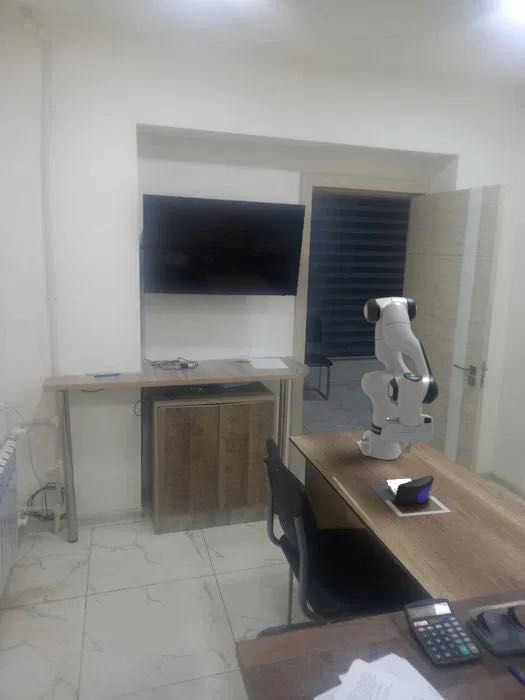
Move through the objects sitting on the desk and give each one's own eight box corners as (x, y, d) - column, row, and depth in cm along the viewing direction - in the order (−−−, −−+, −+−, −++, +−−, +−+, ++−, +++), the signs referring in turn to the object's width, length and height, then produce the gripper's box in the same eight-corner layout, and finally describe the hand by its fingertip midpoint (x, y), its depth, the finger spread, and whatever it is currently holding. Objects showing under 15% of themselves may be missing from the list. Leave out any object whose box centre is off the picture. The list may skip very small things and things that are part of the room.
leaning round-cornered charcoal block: (400, 512, 178) (406, 491, 174) (392, 504, 182) (397, 483, 178) (434, 501, 185) (440, 481, 182) (426, 493, 189) (431, 473, 185)
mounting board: (370, 489, 194) (371, 486, 194) (417, 486, 199) (418, 483, 199) (399, 519, 173) (399, 516, 173) (451, 514, 177) (451, 511, 177)
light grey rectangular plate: (385, 482, 193) (386, 480, 192) (409, 480, 195) (410, 478, 195) (395, 498, 186) (396, 496, 185) (419, 496, 188) (420, 494, 187)
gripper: (386, 421, 180) (383, 457, 183) (438, 418, 185) (434, 454, 187) (378, 415, 186) (376, 450, 189) (428, 413, 191) (425, 448, 193)
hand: (405, 452), depth 188 cm, fingers closed
